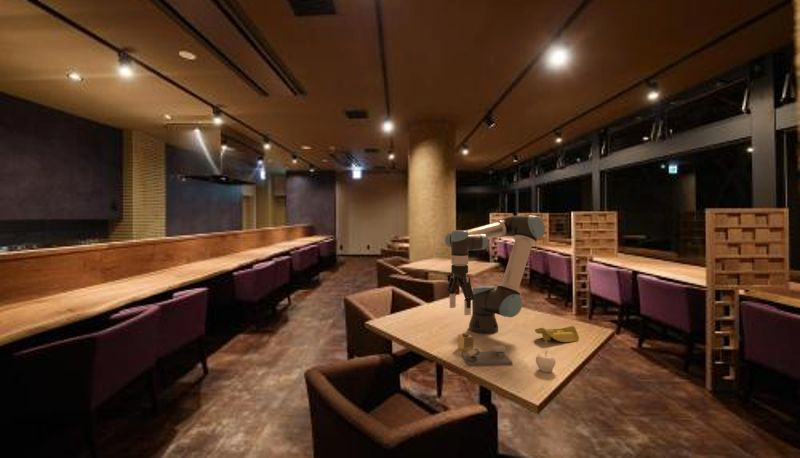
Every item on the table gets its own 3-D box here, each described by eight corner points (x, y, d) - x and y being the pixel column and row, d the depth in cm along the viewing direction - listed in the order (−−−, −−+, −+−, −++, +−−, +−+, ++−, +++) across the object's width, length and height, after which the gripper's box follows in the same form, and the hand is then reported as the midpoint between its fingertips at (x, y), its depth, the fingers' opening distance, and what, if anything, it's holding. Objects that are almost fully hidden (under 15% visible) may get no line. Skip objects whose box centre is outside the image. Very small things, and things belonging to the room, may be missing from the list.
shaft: (473, 356, 153) (473, 347, 153) (480, 359, 150) (480, 349, 150) (465, 359, 150) (465, 350, 150) (472, 362, 147) (472, 352, 147)
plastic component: (561, 328, 186) (576, 325, 178) (565, 343, 183) (580, 340, 175) (530, 330, 179) (544, 326, 171) (534, 346, 176) (548, 343, 168)
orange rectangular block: (467, 347, 168) (467, 332, 167) (473, 350, 163) (473, 335, 163) (458, 348, 166) (458, 333, 166) (463, 352, 161) (463, 336, 161)
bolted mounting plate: (502, 353, 159) (502, 341, 159) (512, 364, 147) (512, 351, 147) (461, 354, 158) (461, 342, 158) (468, 366, 146) (468, 353, 146)
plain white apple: (558, 374, 139) (559, 353, 138) (540, 374, 138) (541, 354, 138) (549, 366, 146) (550, 346, 145) (532, 367, 145) (532, 347, 145)
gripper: (439, 261, 175) (440, 305, 175) (466, 268, 151) (466, 319, 152) (453, 260, 177) (453, 304, 178) (482, 267, 154) (482, 317, 154)
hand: (459, 311), depth 165 cm, fingers open, 13 cm apart
